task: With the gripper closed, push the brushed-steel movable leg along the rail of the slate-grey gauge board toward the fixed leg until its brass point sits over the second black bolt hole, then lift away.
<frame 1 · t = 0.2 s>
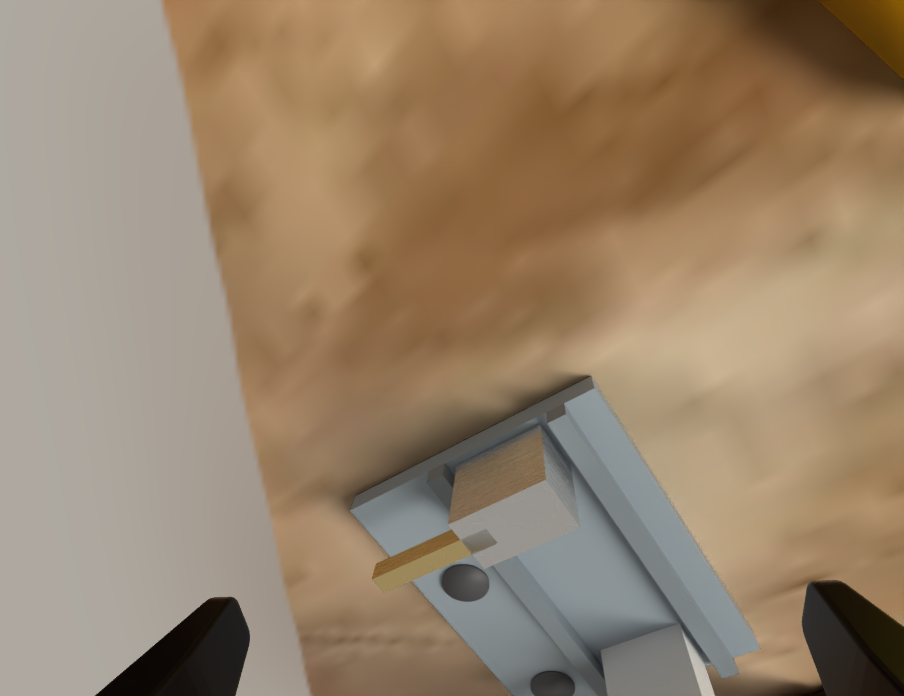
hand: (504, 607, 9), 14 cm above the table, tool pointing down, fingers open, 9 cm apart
movable leg: (468, 515, 23), point 3 cm above the table, slide at 10.5 cm
gauge board: (558, 564, 27), on the table
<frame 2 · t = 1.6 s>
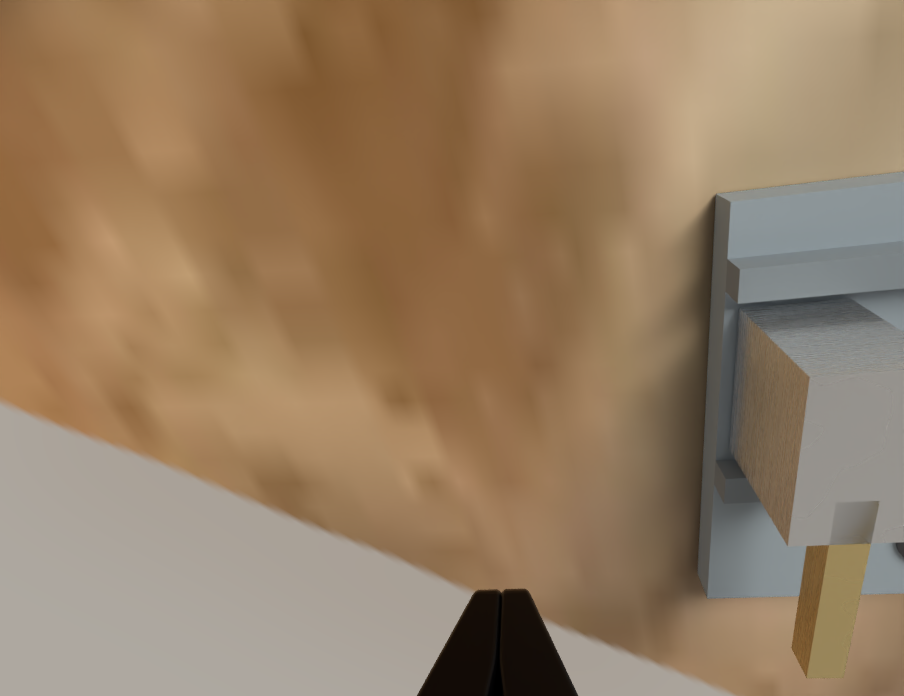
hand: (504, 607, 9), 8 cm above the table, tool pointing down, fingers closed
movable leg: (809, 491, 13), point 3 cm above the table, slide at 10.5 cm
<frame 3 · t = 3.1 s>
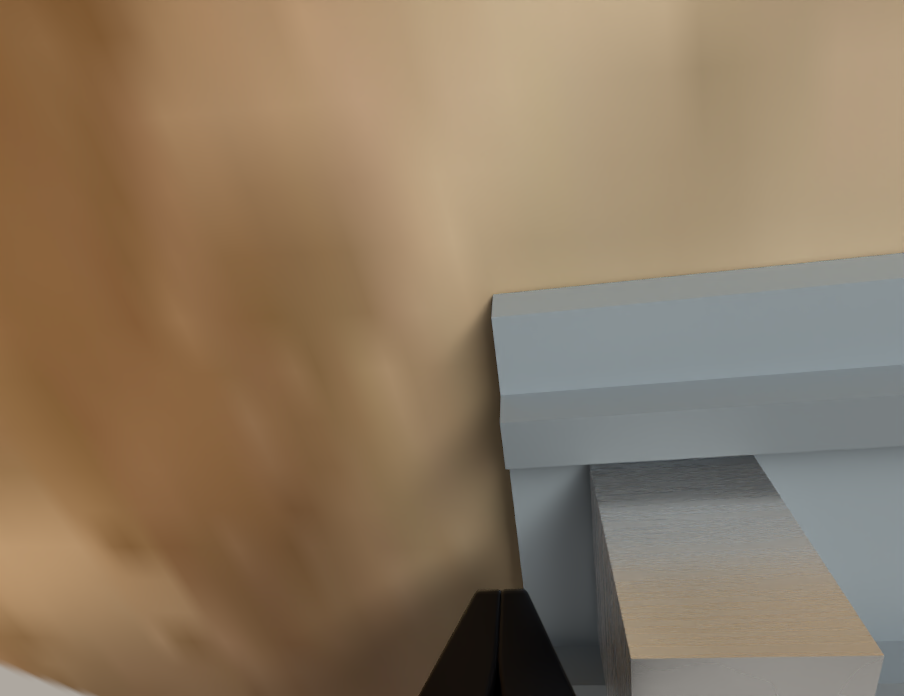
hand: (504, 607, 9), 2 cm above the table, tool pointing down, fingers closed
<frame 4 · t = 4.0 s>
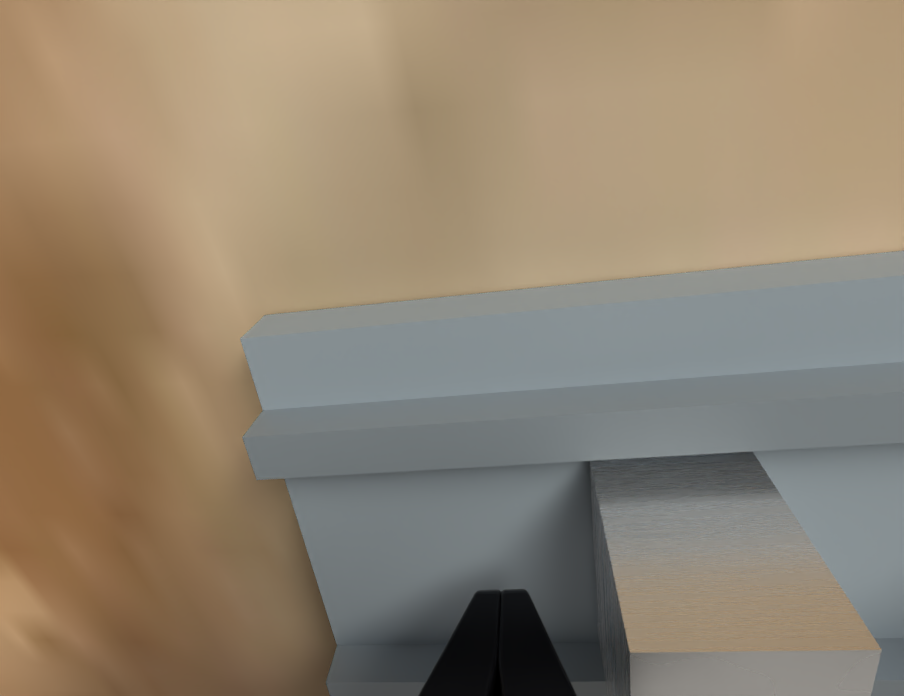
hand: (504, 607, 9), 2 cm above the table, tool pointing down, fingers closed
gauge board: (735, 562, 11), on the table
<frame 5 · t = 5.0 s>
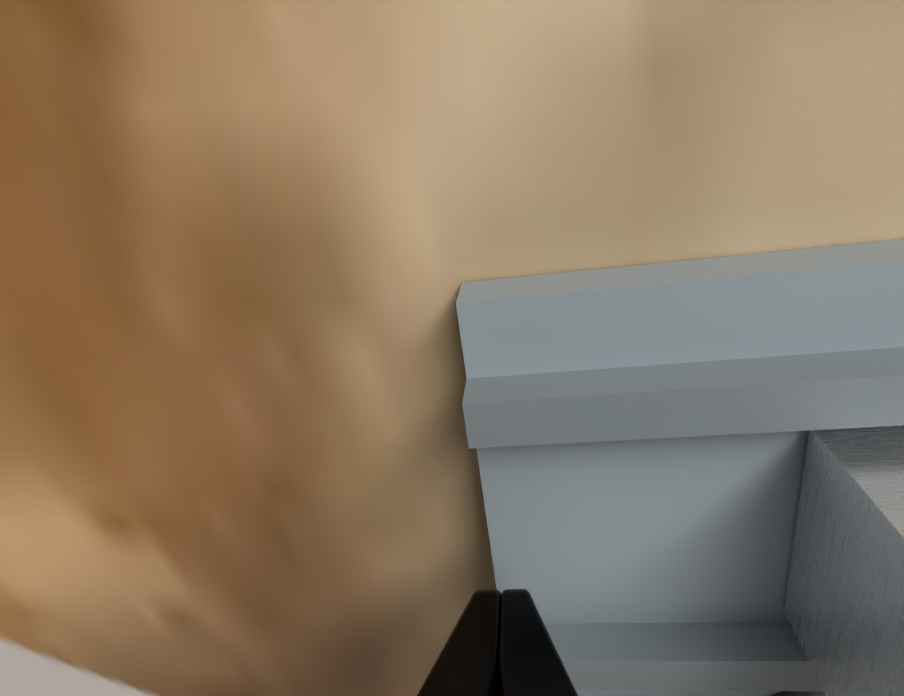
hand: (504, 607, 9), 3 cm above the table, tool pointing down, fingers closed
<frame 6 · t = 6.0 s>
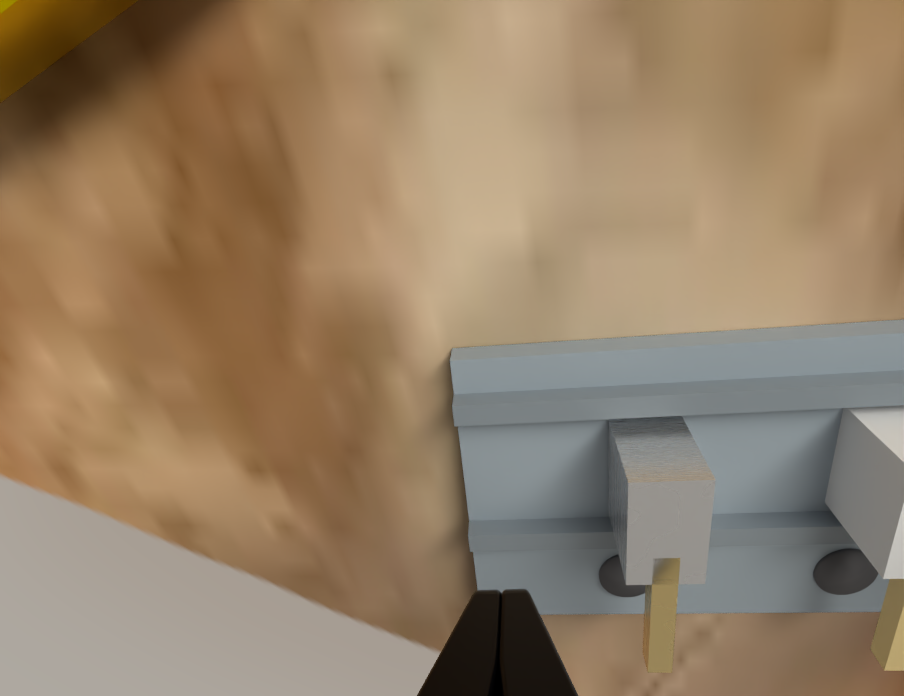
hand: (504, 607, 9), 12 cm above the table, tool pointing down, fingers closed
movable leg: (652, 545, 20), point 3 cm above the table, slide at 5.6 cm
gauge board: (678, 478, 22), on the table
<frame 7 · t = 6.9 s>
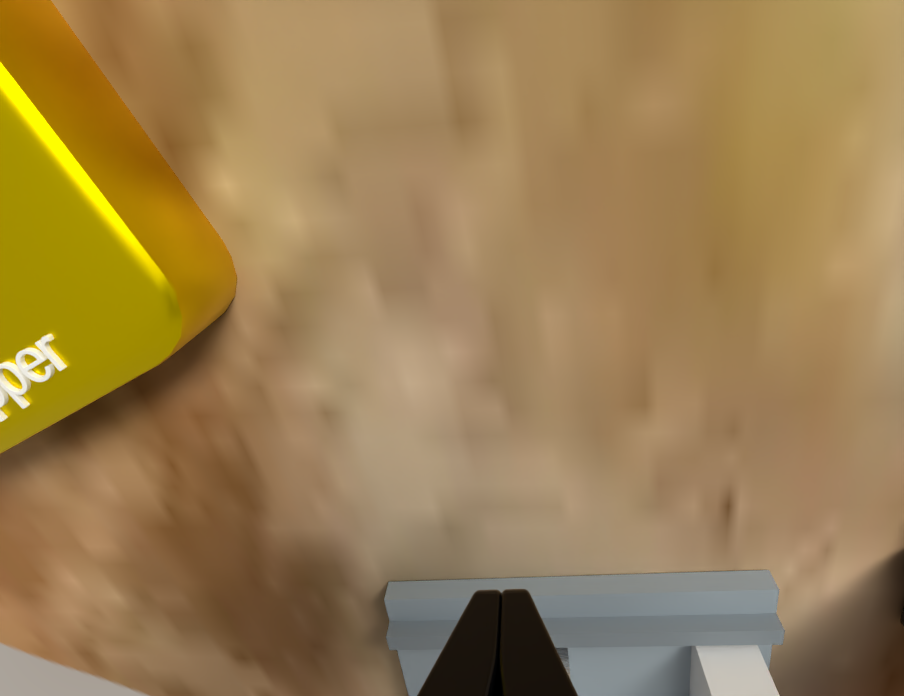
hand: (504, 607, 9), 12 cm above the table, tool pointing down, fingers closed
gauge board: (576, 670, 27), on the table
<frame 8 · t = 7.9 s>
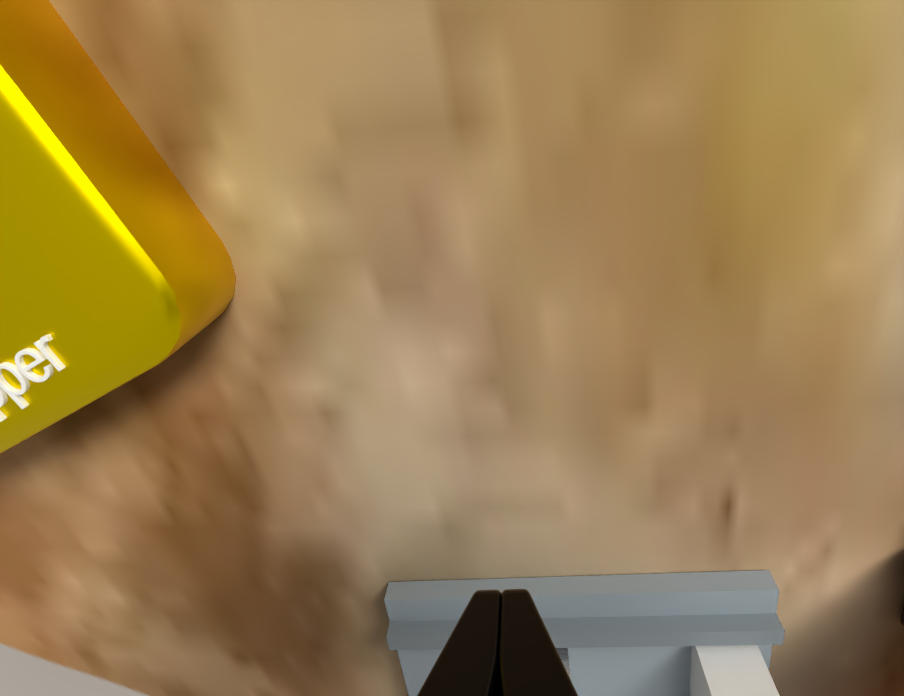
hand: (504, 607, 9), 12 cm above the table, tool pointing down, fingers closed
gauge board: (577, 670, 27), on the table
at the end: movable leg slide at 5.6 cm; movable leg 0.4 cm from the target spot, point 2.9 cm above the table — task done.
